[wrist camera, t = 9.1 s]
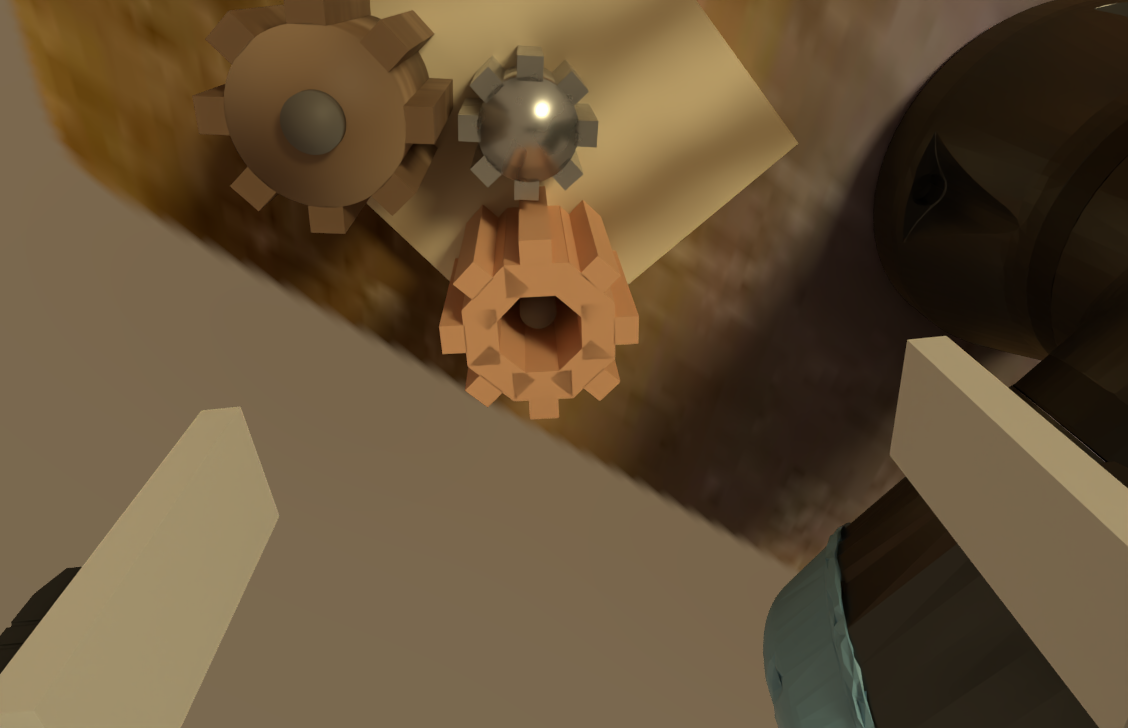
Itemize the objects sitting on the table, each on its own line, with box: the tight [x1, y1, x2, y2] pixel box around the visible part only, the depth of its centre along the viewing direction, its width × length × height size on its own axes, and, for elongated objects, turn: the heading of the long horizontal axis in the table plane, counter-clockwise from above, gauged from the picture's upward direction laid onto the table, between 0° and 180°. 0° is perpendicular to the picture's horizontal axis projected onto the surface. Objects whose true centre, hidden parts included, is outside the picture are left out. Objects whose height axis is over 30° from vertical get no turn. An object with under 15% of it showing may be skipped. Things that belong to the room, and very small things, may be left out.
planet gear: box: [439, 186, 639, 419], centre depth 29 cm, size 7×7×7 cm
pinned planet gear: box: [192, 0, 453, 234], centre depth 25 cm, size 7×7×8 cm
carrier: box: [367, 0, 798, 329], centre depth 27 cm, size 17×15×6 cm
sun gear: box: [458, 45, 599, 201], centre depth 27 cm, size 5×5×4 cm
